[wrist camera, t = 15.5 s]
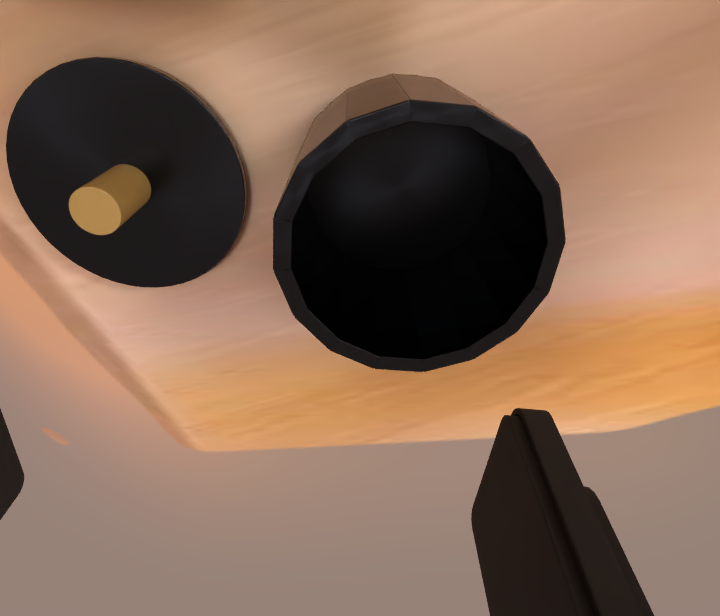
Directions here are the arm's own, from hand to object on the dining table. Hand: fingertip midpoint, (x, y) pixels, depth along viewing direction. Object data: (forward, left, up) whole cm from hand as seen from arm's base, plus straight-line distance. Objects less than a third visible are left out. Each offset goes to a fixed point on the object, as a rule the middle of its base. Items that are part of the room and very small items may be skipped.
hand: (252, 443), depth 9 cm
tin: (+2, +5, -24) cm, 24 cm away
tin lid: (+3, -11, -23) cm, 26 cm away
